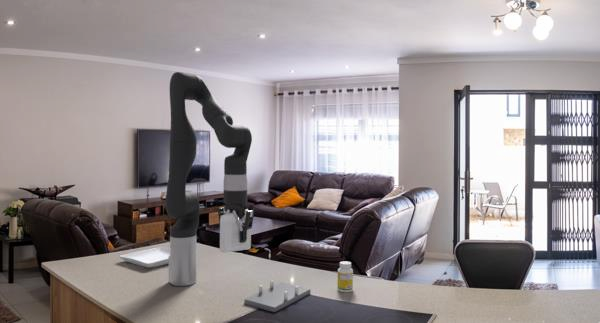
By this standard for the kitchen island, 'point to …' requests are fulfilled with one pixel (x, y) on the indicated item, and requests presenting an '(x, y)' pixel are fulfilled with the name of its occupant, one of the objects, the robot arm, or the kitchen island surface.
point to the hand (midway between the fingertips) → (235, 240)
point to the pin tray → (276, 296)
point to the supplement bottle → (345, 277)
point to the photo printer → (232, 234)
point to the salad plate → (149, 257)
